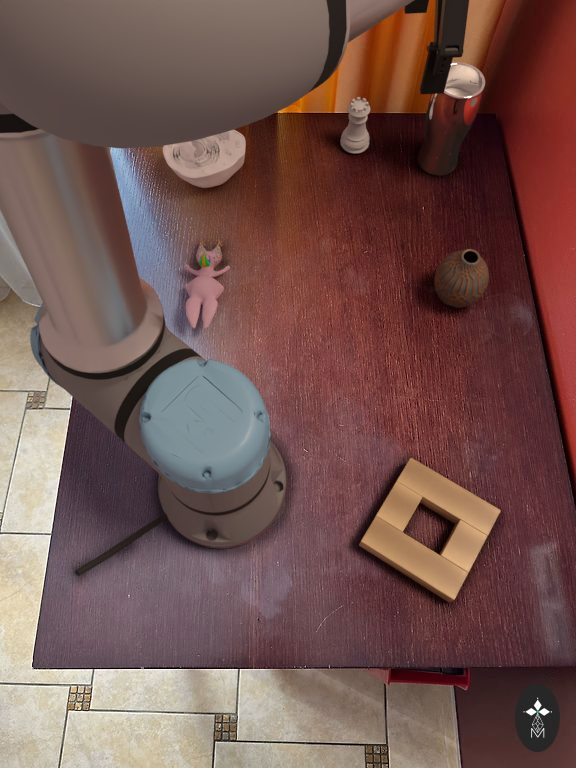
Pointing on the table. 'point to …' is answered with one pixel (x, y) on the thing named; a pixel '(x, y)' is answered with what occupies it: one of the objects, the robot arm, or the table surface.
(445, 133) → the chrome pint tumbler
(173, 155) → the cell model
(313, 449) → the table surface
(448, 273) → the vase
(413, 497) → the square wooden frame
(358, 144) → the rook chess piece
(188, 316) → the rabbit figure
